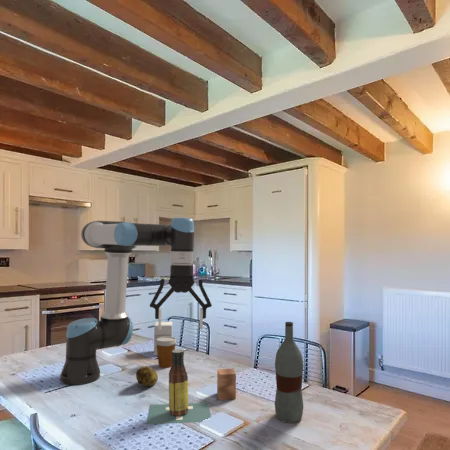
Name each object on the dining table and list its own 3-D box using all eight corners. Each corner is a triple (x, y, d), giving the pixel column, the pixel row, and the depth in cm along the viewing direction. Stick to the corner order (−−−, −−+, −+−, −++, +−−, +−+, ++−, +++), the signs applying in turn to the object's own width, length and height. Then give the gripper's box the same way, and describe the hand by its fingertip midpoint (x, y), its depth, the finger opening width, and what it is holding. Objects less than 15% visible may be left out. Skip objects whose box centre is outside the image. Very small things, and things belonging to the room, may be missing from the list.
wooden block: (218, 400, 133) (219, 374, 133) (217, 393, 139) (217, 369, 139) (235, 399, 134) (235, 374, 134) (233, 393, 140) (233, 368, 140)
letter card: (146, 424, 114) (146, 424, 114) (149, 405, 128) (149, 404, 128) (211, 421, 116) (211, 421, 117) (208, 403, 130) (208, 402, 130)
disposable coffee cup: (174, 369, 165) (175, 341, 166) (153, 369, 165) (153, 341, 166) (177, 362, 175) (178, 336, 175) (157, 362, 175) (157, 336, 176)
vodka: (308, 421, 117) (308, 324, 119) (282, 425, 115) (282, 326, 116) (295, 409, 126) (295, 319, 128) (269, 412, 124) (270, 320, 125)
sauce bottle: (191, 410, 124) (192, 349, 125) (183, 418, 118) (184, 354, 119) (173, 407, 126) (174, 347, 127) (164, 415, 120) (165, 352, 121)
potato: (166, 382, 150) (166, 361, 150) (146, 393, 138) (146, 371, 139) (149, 378, 153) (149, 358, 154) (128, 389, 142) (128, 367, 142)
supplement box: (154, 350, 194) (155, 321, 194) (172, 350, 195) (172, 321, 195) (153, 356, 185) (154, 325, 185) (171, 355, 186) (172, 325, 186)
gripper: (142, 264, 120) (140, 331, 119) (220, 265, 123) (219, 330, 122) (144, 263, 127) (143, 326, 126) (217, 264, 130) (216, 325, 129)
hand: (180, 328), depth 124 cm, fingers open, 13 cm apart
